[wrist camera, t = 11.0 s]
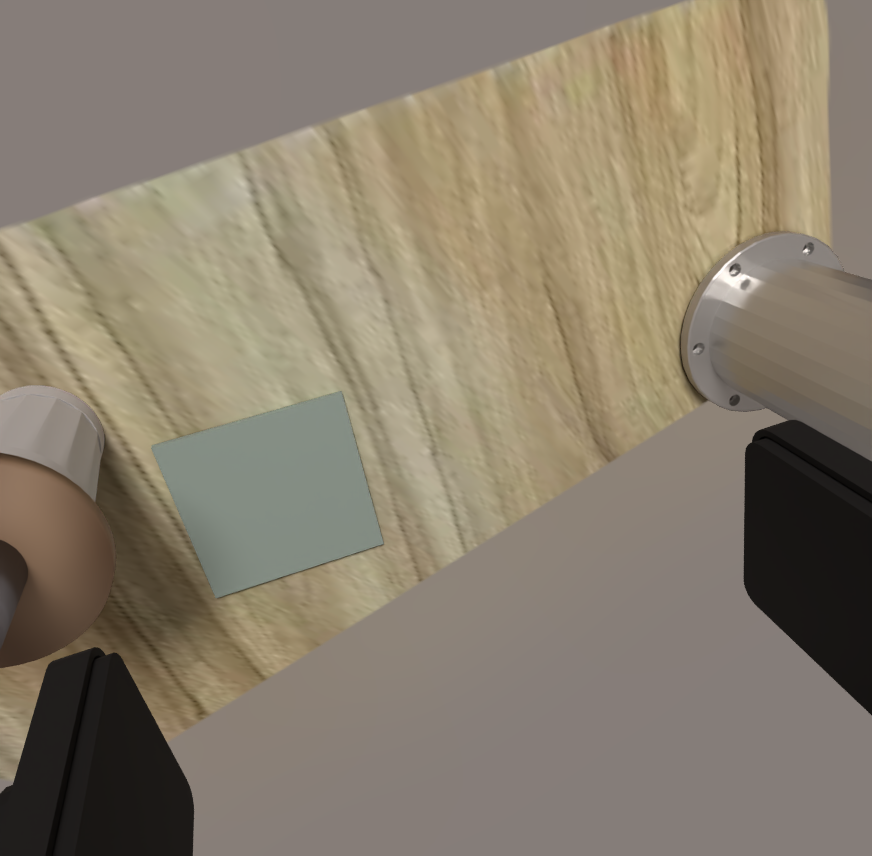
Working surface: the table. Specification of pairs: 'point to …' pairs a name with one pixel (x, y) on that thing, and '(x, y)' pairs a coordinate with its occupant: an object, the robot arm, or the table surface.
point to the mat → (271, 493)
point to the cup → (53, 432)
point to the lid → (48, 560)
